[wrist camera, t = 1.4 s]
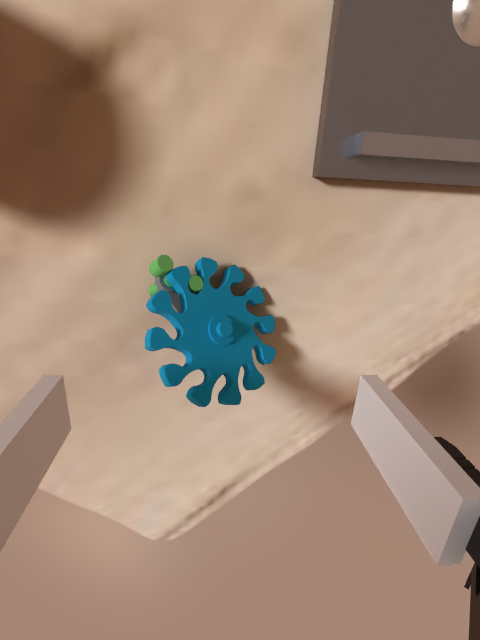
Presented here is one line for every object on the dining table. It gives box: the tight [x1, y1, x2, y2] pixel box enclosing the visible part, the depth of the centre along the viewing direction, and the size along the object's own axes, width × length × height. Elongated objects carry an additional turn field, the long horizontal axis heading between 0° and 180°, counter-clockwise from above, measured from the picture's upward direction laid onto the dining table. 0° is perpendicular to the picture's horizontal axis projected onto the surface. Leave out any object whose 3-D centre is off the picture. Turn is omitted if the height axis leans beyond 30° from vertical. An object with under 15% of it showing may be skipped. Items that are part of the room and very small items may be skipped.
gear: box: [145, 255, 276, 407], centre depth 24 cm, size 11×6×10 cm
